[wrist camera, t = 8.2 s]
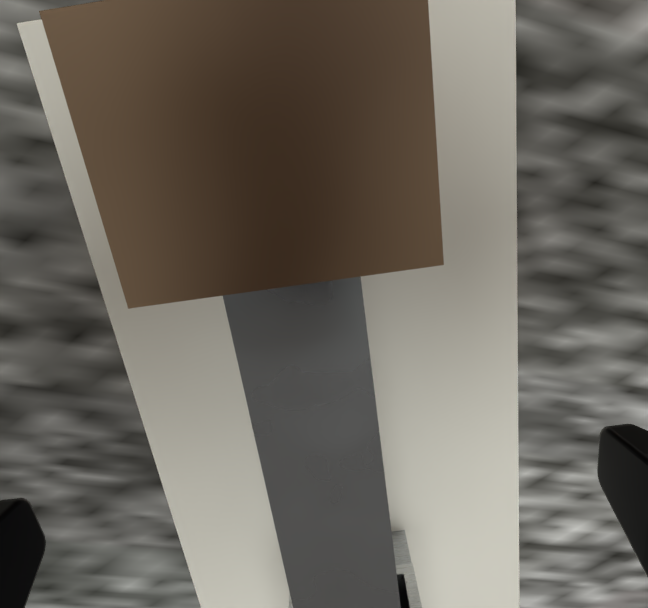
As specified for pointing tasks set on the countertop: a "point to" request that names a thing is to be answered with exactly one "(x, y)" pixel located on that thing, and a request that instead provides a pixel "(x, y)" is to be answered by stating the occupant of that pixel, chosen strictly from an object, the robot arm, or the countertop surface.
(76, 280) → the countertop surface
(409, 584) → the outer sleeve
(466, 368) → the base board
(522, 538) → the countertop surface
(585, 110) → the countertop surface
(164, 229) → the socket block
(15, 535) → the robot arm
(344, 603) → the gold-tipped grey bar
